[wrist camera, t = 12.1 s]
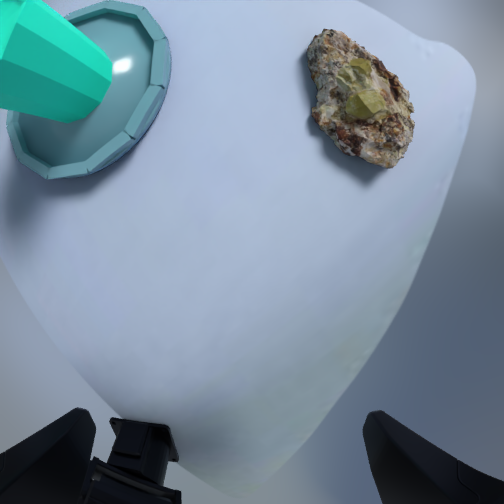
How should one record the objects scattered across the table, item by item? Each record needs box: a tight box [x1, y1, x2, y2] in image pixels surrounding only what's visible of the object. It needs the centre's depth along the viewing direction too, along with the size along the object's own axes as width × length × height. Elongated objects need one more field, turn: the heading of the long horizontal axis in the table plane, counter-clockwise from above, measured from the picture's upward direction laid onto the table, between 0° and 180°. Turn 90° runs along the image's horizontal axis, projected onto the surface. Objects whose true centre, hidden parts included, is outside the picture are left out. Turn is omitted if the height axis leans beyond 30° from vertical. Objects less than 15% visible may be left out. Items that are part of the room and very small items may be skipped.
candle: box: [0, 0, 112, 123], centre depth 9 cm, size 6×6×12 cm
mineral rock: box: [307, 29, 415, 168], centre depth 16 cm, size 11×4×8 cm
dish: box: [6, 0, 171, 179], centre depth 15 cm, size 14×14×2 cm
